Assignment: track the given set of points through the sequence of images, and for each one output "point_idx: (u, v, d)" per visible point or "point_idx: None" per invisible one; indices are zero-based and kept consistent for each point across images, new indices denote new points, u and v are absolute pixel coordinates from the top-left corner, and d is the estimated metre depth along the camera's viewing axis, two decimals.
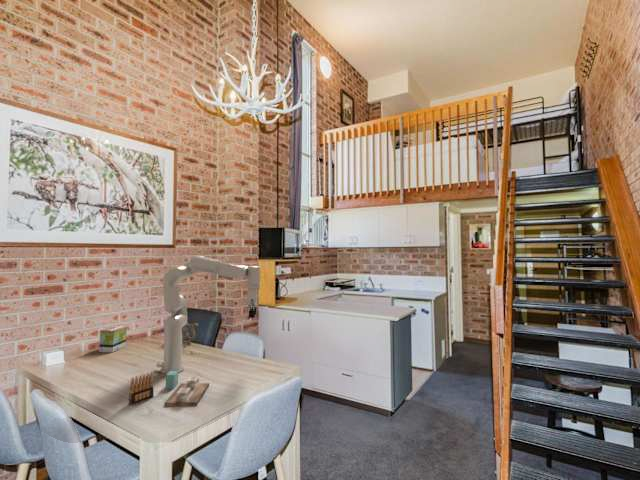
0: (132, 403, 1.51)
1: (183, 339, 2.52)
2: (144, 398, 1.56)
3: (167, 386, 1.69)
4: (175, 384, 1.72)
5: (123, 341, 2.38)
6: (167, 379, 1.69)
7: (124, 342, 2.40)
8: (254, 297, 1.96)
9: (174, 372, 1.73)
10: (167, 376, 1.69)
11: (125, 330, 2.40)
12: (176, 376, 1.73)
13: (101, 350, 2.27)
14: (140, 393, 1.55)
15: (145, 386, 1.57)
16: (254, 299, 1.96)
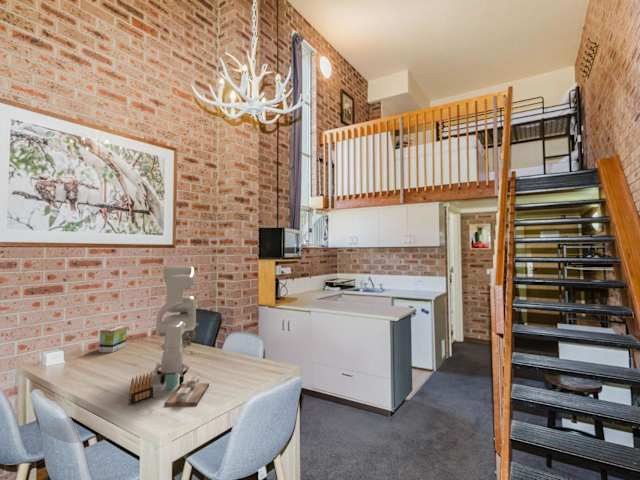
0: (132, 403, 1.51)
1: (183, 339, 2.52)
2: (144, 398, 1.56)
3: (167, 386, 1.69)
4: (175, 384, 1.72)
5: (123, 341, 2.38)
6: (167, 379, 1.69)
7: (124, 342, 2.40)
8: None
9: None
10: (167, 376, 1.69)
11: (125, 330, 2.40)
12: (176, 376, 1.73)
13: (101, 350, 2.27)
14: (140, 393, 1.55)
15: (145, 386, 1.57)
16: (183, 361, 1.74)
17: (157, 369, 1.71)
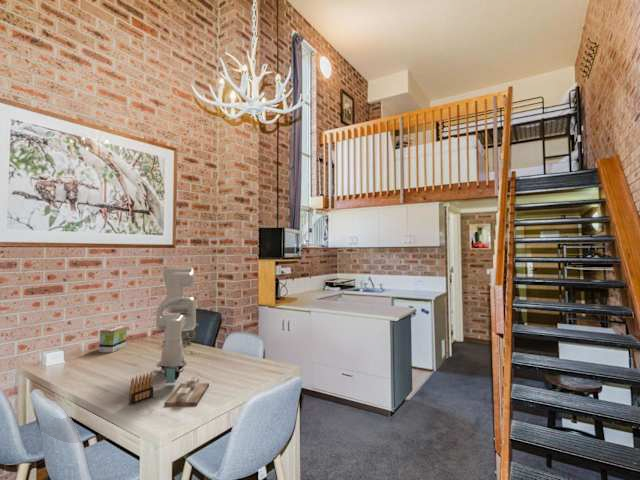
0: (132, 403, 1.51)
1: (183, 339, 2.52)
2: (144, 398, 1.56)
3: (167, 380, 1.71)
4: None
5: (123, 341, 2.38)
6: (167, 373, 1.71)
7: (124, 342, 2.40)
8: None
9: (174, 366, 1.74)
10: (167, 370, 1.71)
11: (125, 330, 2.40)
12: None
13: (101, 350, 2.27)
14: (140, 393, 1.55)
15: (145, 386, 1.57)
16: (183, 354, 1.75)
17: (160, 364, 1.72)
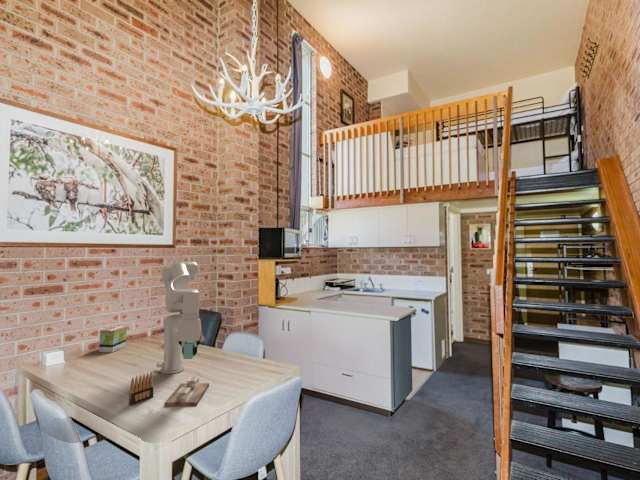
0: (132, 403, 1.51)
1: None
2: (144, 398, 1.56)
3: (185, 356, 1.60)
4: None
5: (123, 341, 2.38)
6: (185, 348, 1.60)
7: (124, 342, 2.40)
8: None
9: (192, 342, 1.64)
10: (185, 345, 1.60)
11: (125, 330, 2.40)
12: None
13: (101, 350, 2.27)
14: (140, 393, 1.55)
15: (145, 386, 1.57)
16: (201, 329, 1.65)
17: (177, 340, 1.62)
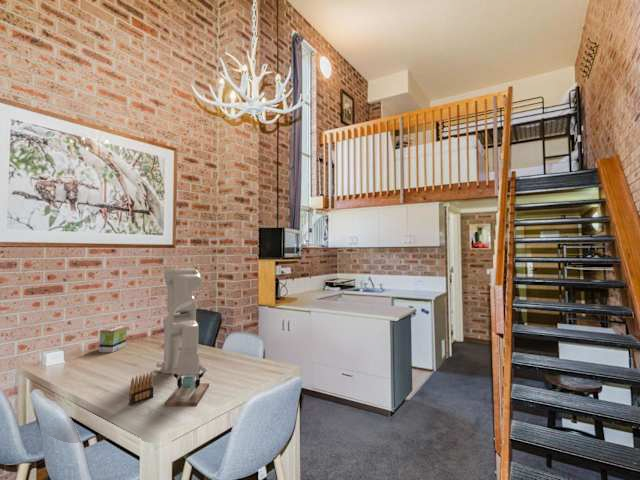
0: (132, 403, 1.51)
1: None
2: (144, 398, 1.56)
3: None
4: (192, 389, 1.62)
5: (123, 341, 2.38)
6: (184, 383, 1.60)
7: (124, 342, 2.40)
8: None
9: (191, 376, 1.63)
10: (184, 380, 1.60)
11: (125, 330, 2.40)
12: (193, 380, 1.63)
13: (101, 350, 2.27)
14: (140, 393, 1.55)
15: (145, 386, 1.57)
16: None
17: (173, 372, 1.61)
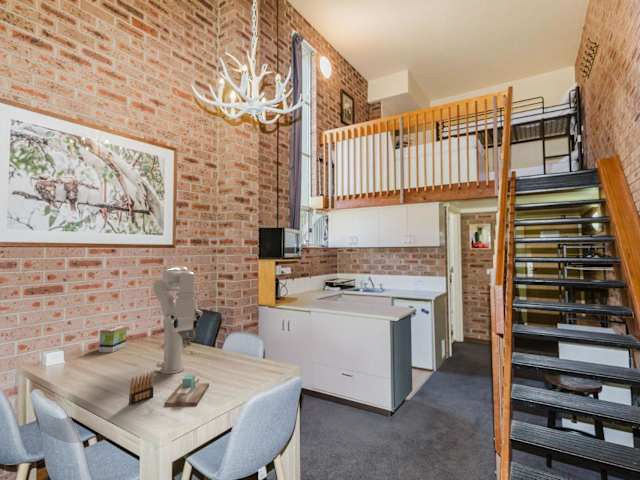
0: (132, 403, 1.51)
1: (183, 339, 2.52)
2: (144, 398, 1.56)
3: None
4: (192, 389, 1.62)
5: (123, 341, 2.38)
6: (184, 383, 1.60)
7: (124, 342, 2.40)
8: None
9: (191, 376, 1.63)
10: (184, 380, 1.60)
11: (125, 330, 2.40)
12: (193, 380, 1.63)
13: (101, 350, 2.27)
14: (140, 393, 1.55)
15: (145, 386, 1.57)
16: None
17: (170, 313, 1.79)
